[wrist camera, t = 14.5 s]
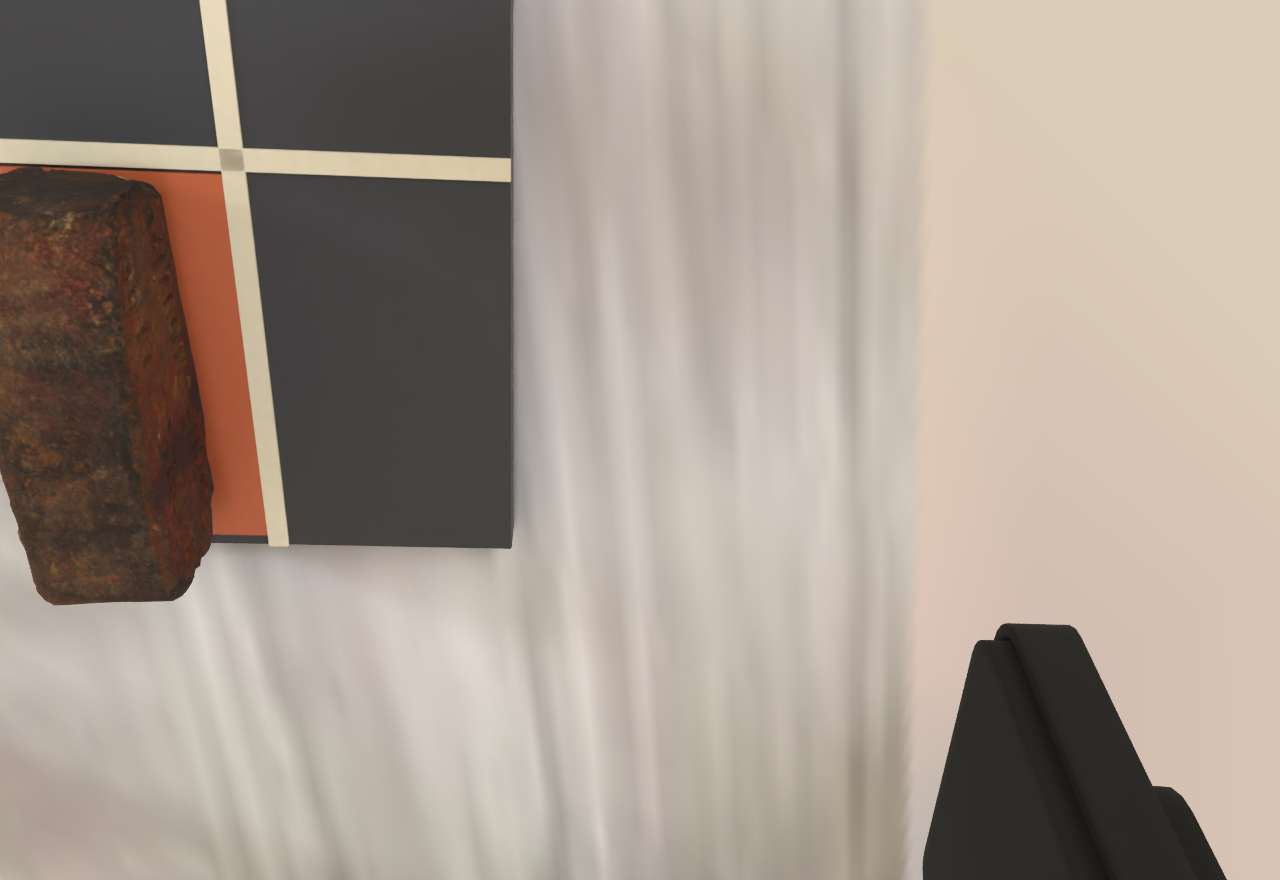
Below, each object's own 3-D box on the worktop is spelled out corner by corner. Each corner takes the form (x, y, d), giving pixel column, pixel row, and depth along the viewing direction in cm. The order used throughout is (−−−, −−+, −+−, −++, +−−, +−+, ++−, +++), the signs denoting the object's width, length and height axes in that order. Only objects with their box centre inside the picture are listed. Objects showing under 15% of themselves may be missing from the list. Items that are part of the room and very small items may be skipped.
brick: (231, 509, 36) (187, 609, 32) (94, 511, 36) (33, 611, 32) (163, 158, 31) (100, 226, 27) (2, 159, 31) (-86, 226, 27)
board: (512, -393, 26) (509, -398, 25) (513, 526, 38) (511, 551, 37) (-167, -438, 25) (-201, -444, 24) (57, 517, 38) (41, 542, 37)
